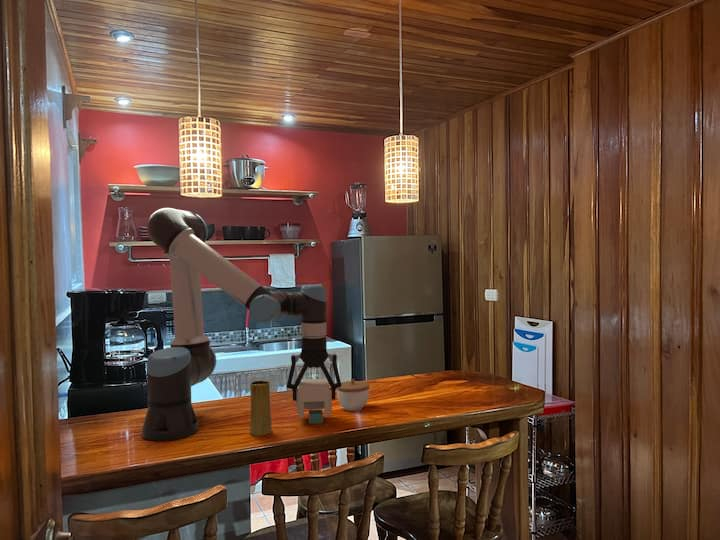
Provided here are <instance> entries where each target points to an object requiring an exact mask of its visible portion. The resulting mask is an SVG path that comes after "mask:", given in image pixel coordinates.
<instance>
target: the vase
mask: <svg viewBox="0 0 720 540" xmlns="http://www.w3.org/2000/svg"><path fill="white" fill-rule="evenodd" d="M249 386H250V429H249V433H250V435H252V436H256V437H263V436H267V435H270V434H271V433H272V432H273V428H272V415H271V411H272V410H271V396H270V395H271V393H270V392H271V391H270V381H269V380H265V379H262V380H261V379H260V380H254V381H251V382H250V385H249Z"/></svg>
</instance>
